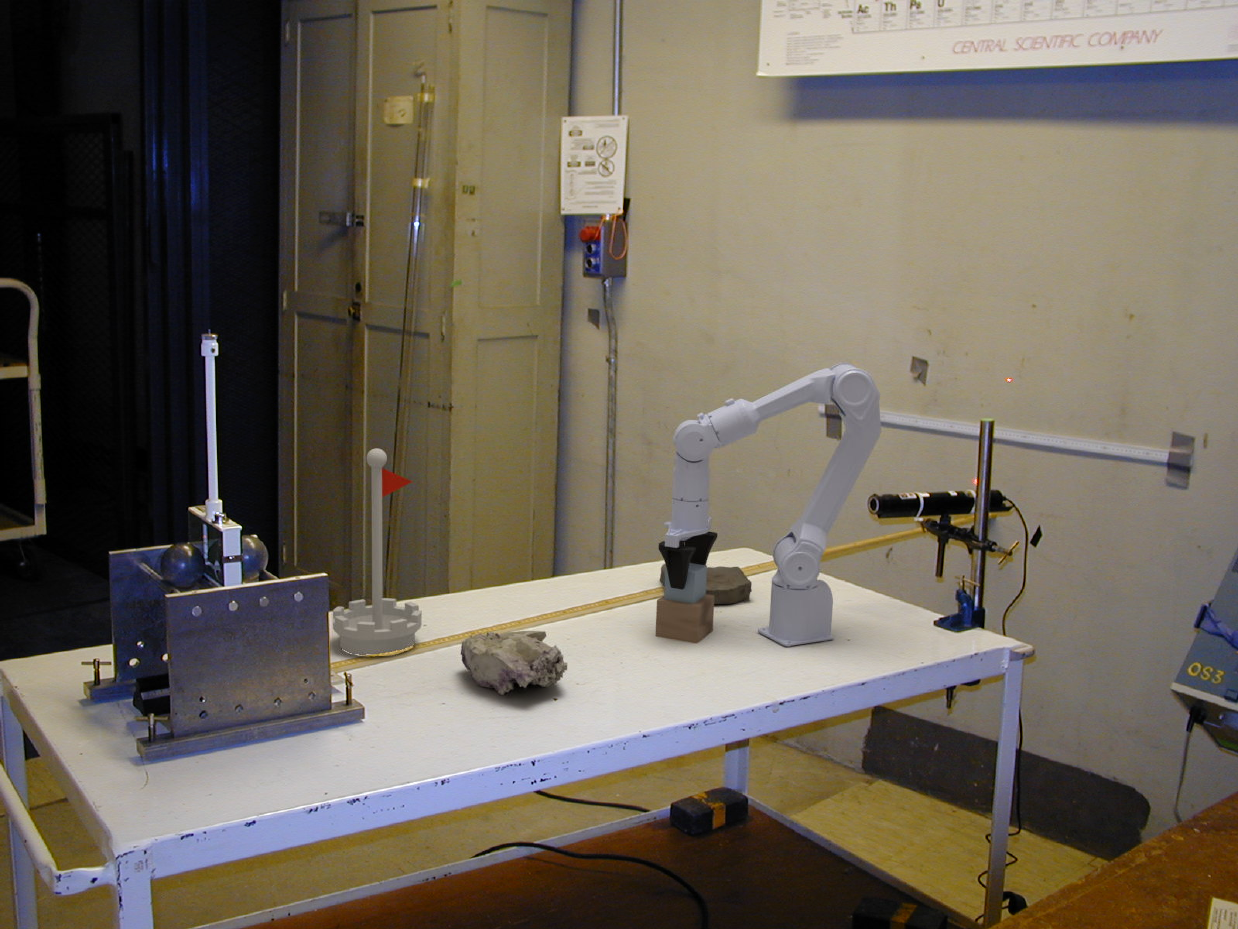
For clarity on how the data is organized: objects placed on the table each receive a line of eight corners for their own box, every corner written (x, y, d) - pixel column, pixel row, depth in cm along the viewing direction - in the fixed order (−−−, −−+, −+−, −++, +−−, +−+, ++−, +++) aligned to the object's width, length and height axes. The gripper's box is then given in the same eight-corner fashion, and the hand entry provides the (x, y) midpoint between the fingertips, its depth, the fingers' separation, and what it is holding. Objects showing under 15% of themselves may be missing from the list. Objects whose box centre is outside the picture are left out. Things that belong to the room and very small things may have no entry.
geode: (502, 695, 175) (439, 710, 162) (489, 632, 176) (427, 641, 163) (599, 675, 167) (542, 689, 154) (585, 609, 169) (528, 617, 156)
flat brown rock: (658, 581, 219) (659, 559, 219) (738, 583, 221) (739, 561, 220) (669, 609, 203) (671, 585, 202) (755, 610, 204) (756, 586, 203)
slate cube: (676, 591, 192) (677, 561, 191) (705, 596, 190) (707, 565, 189) (664, 599, 187) (665, 568, 186) (693, 604, 185) (695, 572, 184)
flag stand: (337, 663, 171) (335, 457, 166) (329, 634, 183) (326, 442, 178) (428, 655, 175) (429, 455, 170) (413, 628, 187) (414, 440, 182)
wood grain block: (672, 624, 194) (673, 589, 193) (712, 631, 191) (714, 595, 190) (655, 636, 188) (656, 600, 186) (697, 644, 185) (698, 607, 184)
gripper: (684, 487, 193) (680, 568, 196) (648, 503, 180) (644, 589, 183) (725, 492, 190) (721, 574, 193) (691, 508, 178) (687, 596, 180)
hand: (686, 582), depth 188 cm, fingers open, 7 cm apart
